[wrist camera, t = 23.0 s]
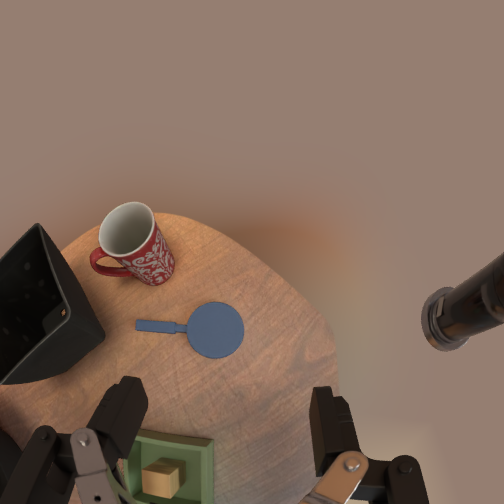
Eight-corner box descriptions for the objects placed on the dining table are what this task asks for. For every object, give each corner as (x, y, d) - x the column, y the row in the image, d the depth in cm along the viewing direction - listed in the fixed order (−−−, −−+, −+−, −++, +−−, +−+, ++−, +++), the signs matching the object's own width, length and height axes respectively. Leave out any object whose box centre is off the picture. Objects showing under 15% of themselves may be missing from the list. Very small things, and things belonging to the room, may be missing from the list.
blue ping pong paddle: (244, 303, 45) (244, 302, 44) (243, 359, 41) (242, 359, 40) (140, 300, 46) (138, 298, 45) (134, 351, 42) (132, 350, 41)
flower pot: (86, 262, 49) (37, 218, 34) (130, 339, 43) (71, 314, 28) (29, 316, 44) (-26, 288, 29) (63, 394, 38) (-3, 387, 23)
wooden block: (185, 461, 33) (169, 475, 26) (186, 481, 31) (170, 498, 24) (161, 457, 33) (141, 469, 26) (162, 477, 32) (142, 492, 24)
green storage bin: (213, 439, 35) (206, 447, 30) (213, 505, 30) (207, 518, 25) (137, 428, 36) (122, 432, 31) (139, 491, 30) (125, 501, 26)
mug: (169, 235, 51) (144, 191, 39) (188, 275, 47) (162, 237, 35) (112, 266, 49) (75, 230, 37) (125, 307, 45) (84, 280, 33)
